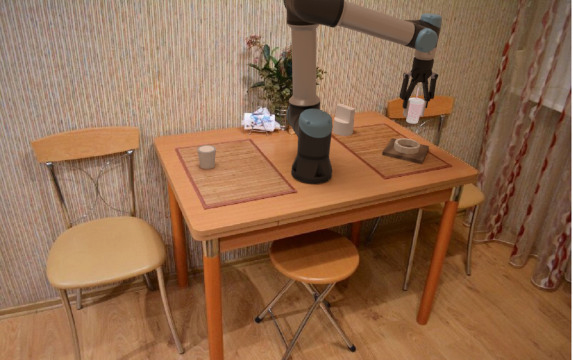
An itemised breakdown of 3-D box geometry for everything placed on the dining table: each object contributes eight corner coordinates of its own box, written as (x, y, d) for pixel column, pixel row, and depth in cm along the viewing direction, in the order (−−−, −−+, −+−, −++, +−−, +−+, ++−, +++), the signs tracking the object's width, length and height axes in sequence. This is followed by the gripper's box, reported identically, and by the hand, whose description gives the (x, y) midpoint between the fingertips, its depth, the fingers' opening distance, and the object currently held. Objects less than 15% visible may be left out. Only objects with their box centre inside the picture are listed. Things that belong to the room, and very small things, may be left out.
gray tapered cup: (209, 159, 172) (208, 143, 169) (220, 166, 168) (219, 149, 165) (194, 164, 168) (193, 148, 165) (205, 171, 164) (204, 154, 160)
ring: (391, 150, 184) (392, 145, 182) (397, 141, 192) (398, 136, 190) (416, 156, 180) (417, 150, 179) (420, 147, 188) (421, 141, 187)
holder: (382, 155, 183) (382, 151, 182) (391, 141, 196) (391, 138, 195) (421, 164, 177) (422, 160, 177) (428, 149, 190) (429, 145, 189)
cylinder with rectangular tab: (328, 131, 203) (331, 105, 197) (341, 126, 208) (344, 101, 202) (343, 137, 197) (346, 111, 191) (356, 132, 203) (360, 107, 197)
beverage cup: (420, 125, 177) (427, 90, 170) (404, 123, 178) (410, 89, 171) (419, 119, 182) (426, 86, 175) (404, 117, 183) (410, 84, 176)
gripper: (404, 60, 163) (394, 119, 174) (452, 60, 166) (439, 118, 177) (396, 55, 169) (387, 113, 180) (442, 55, 172) (431, 111, 184)
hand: (413, 115), depth 179 cm, fingers closed on beverage cup, 6 cm apart
